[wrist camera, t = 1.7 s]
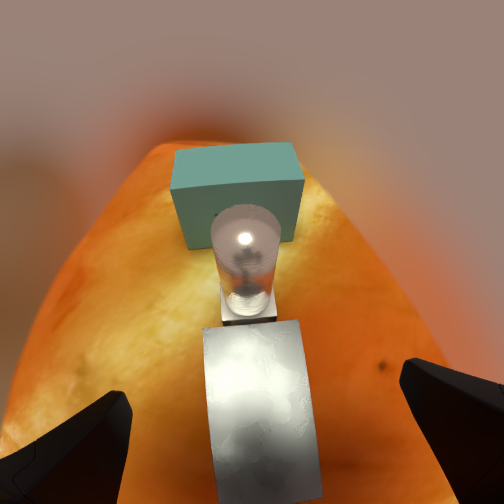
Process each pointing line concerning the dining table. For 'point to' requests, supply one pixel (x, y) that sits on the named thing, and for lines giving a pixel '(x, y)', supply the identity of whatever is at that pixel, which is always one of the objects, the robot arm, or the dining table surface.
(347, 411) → the dining table surface
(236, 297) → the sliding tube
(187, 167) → the teal block
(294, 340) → the grey rectangular box
